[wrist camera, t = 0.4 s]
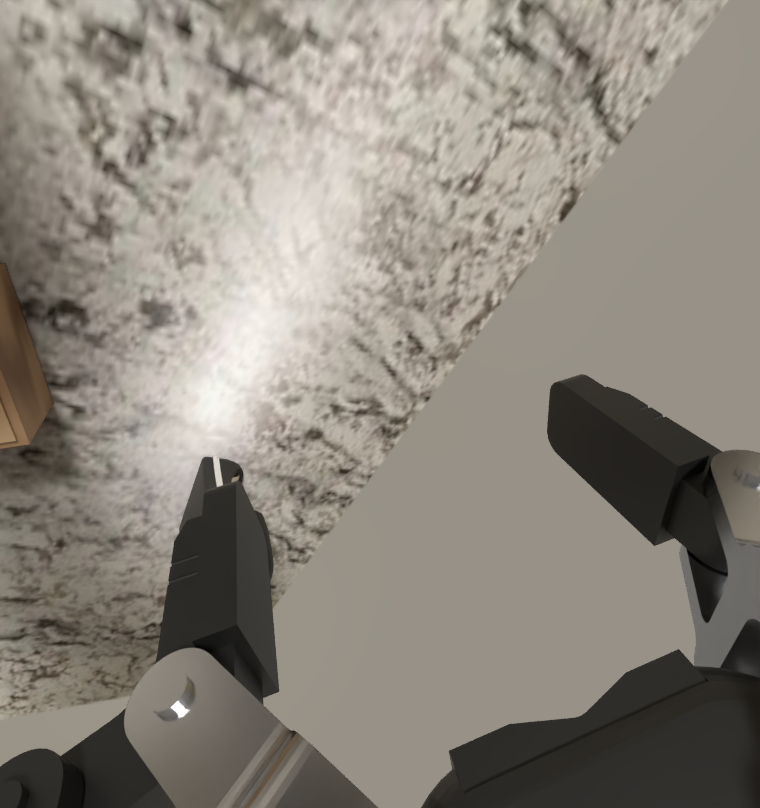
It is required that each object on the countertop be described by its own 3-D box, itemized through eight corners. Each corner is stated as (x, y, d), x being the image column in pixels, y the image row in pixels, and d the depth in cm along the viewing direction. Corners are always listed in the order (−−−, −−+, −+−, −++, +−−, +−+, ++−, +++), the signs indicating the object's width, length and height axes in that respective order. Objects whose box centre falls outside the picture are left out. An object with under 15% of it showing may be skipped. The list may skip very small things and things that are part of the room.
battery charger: (228, 532, 34) (248, 662, 25) (177, 529, 32) (177, 669, 23) (255, 458, 32) (288, 568, 23) (203, 450, 31) (215, 567, 21)
